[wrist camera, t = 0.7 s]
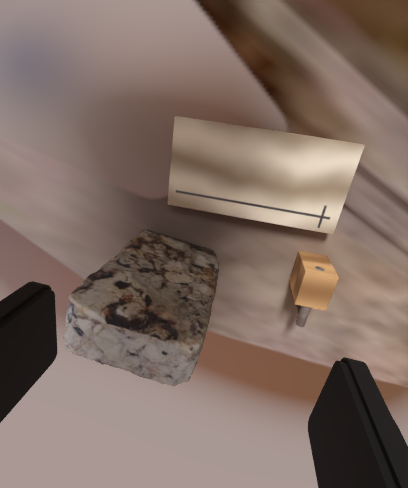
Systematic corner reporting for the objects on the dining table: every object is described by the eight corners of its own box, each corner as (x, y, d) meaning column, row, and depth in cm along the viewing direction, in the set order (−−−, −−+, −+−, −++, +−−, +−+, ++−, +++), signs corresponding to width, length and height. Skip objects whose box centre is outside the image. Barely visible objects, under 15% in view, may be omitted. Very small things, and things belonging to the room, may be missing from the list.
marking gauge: (298, 250, 40) (305, 271, 35) (327, 256, 40) (338, 277, 35) (282, 302, 44) (286, 328, 39) (308, 307, 44) (316, 334, 38)
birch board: (178, 116, 36) (174, 115, 34) (358, 143, 34) (364, 144, 32) (171, 200, 40) (167, 204, 38) (329, 228, 38) (333, 234, 36)
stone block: (136, 263, 45) (58, 358, 27) (140, 223, 42) (56, 300, 24) (216, 283, 45) (191, 396, 26) (226, 244, 42) (206, 340, 24)
